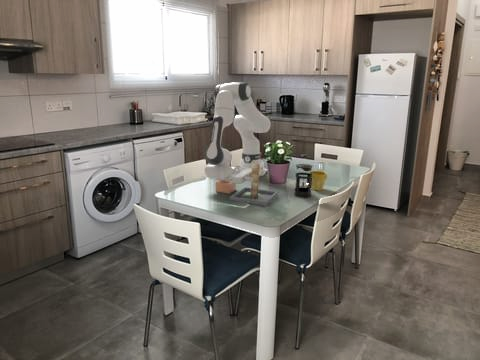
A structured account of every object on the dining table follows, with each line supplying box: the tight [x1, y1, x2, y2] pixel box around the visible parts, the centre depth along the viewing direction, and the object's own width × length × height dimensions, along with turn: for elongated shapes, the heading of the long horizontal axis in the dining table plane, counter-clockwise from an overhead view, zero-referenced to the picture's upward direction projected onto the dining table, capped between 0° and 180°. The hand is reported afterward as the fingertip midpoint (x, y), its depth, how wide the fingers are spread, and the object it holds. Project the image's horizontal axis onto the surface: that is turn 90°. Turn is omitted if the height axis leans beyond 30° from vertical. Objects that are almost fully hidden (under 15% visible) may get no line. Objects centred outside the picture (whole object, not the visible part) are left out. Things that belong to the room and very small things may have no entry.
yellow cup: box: [308, 170, 328, 191], centre depth 232 cm, size 10×10×10 cm
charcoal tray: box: [229, 186, 279, 207], centre depth 213 cm, size 20×20×2 cm
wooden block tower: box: [250, 164, 260, 199], centre depth 210 cm, size 4×4×18 cm
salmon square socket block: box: [215, 181, 237, 194], centre depth 223 cm, size 8×8×6 cm
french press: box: [293, 153, 314, 199], centre depth 217 cm, size 12×9×23 cm
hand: (256, 177), depth 210 cm, fingers open, 7 cm apart
